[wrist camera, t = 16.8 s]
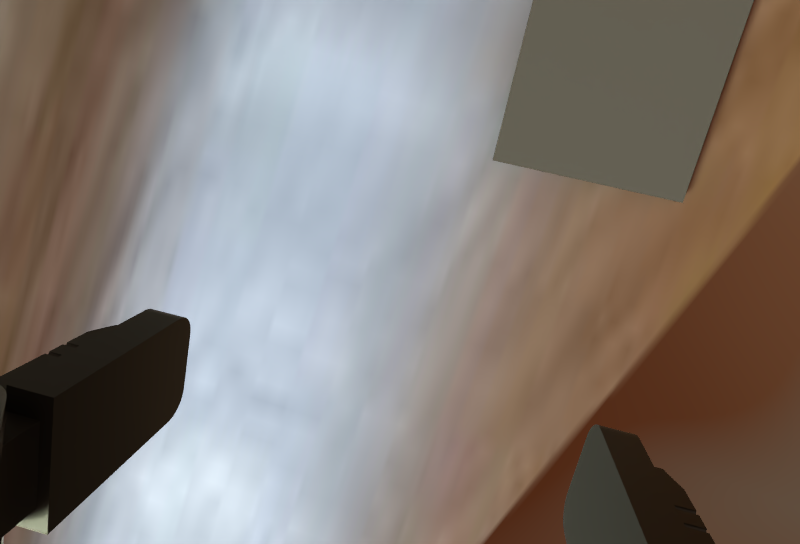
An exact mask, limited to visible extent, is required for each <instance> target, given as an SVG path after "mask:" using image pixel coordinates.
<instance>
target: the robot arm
mask: <svg viewBox="0 0 800 544" xmlns="http://www.w3.org/2000/svg"><path fill="white" fill-rule="evenodd" d="M189 339H190V323H189V320H188V319H187V318H184V317H180V316H176V315H173V314H169V313H165V312H161V311H157V310H153V309H147V310H145V311H143V312H141V313H139V314H137V315H136V316H134V317H132V318H130V319H128V320H126V321H124V322H123V323H121V324H119V325H114V326H110V327H105V328H101V329H97V330H93V331H89V332H86V333H84V334H82V335H81V336H79V337H77V338H75V339H73V340H71V341H69V342H67V344H66V345H61V346H59V347H57V348H55V349H53V350H51V351H49V354H43V355H41V356H40V357H38V358H36V359H34V360H32V361H30V362H28V363H26V364H24V365H22V366H20V367H18V368H16V369H14V370H12V371H10V372H8V373H6V374H4V375H2V376H0V544H3V536H4V535H5V534H7V533H8V532H9V531H10V530H11V529H12V528H14V527H15V526H19V527H23V528H26V529H30V530H33V531H36V532H40V533H43V534H46V535H48V534H49V533H50V532H51V531H52V530H53V529H54V528H55V527H56V526H57V525H58V524H59V523H60V522H62V521H63V520H64V519H65V518H66V517H67V516H68V515H69V514H70V513H71V512H72V511H73V510H74V509H75V508H76V507H78V506H79V505H80V504H81V503H82V502H83V501H84V500H85V499H86V498H87V497H88V496H89V495H90V494H91V493H93V492H94V491H95V490H96V489H97V488H98V487H99V486H100V485H101V484H102V483H103V482H104V481H105V480H106V479H108V478H109V477H110V476H111V475H112V474H113V473H114V472H115V471H116V470H117V469H118V468H119V467H120V466H121V465H123V464H124V463H125V462H126V461H127V460H128V459H129V458H130V457H131V456H132V455H133V454H134V453H135V452H136V451H137V450H139V449H140V448H141V447H142V446H143V445H144V444H145V443H146V442H147V441H148V440H149V439H150V438H151V437H152V436H154V435H155V434H156V433H157V432H158V431H159V430H160V429H161V428H162V427H163V426H164V425H165V424H166V423H167V422H168V421H169V420H170V419H171V418H172V417H173V415H174V414H175V412H176V410H177V408H178V406H179V404H180V401H181V398H182V395H183V390H184V382H185V373H186V365H187V356H188V348H189ZM563 525H564V532H565V537H566V541H567V544H715V543H714V541H713V539H712V537H711V536H710V534H709V533H706V530H707V529H706V527H705V525H704V523H703V522H702V520H701V518H700V516H699V515H696V509H695V508H694V506H693V504H692V503H691V501H690V499H689V497H688V496H687V494H686V492H685V491H684V489H683V488H682V487H681V486H680V485H679V484H678V483H677V482H676V481H674V480H673V479H672V478H671V477H670V476H669V475H668V474H667V473H666V472H665V471H664V470H663V469H661V468H657V467H654V466H653V464H652V462H651V460H650V458H649V456H648V455H647V452H646V450H645V448H644V446H643V445H642V443H641V441H640V439H639V437H638V436H637V435H635V434H631V433H627V432H623V431H619V430H615V429H611V428H608V427H604V426H600V425H594V426H593V427H592V428H591V429H590V431H589V433H588V435H587V438H586V441H585V444H584V447H583V450H582V453H581V456H580V458H579V462H578V464H577V467H576V470H575V473H574V476H573V479H572V482H571V485H570V488H569V490H568V493H567V498H566V501H565V507H564V516H563Z"/></svg>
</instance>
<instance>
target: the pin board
mask: <svg viewBox="0 0 800 544" xmlns="http://www.w3.org/2000/svg"><path fill="white" fill-rule="evenodd" d="M753 1H754V0H533V3H532V7H531V11H530V15H529V19H528V23H527V27H526V31H525V35H524V39H523V43H522V47H521V50H520V54H519V58H518V62H517V66H516V70H515V74H514V78H513V82H512V86H511V90H510V94H509V98H508V102H507V106H506V110H505V114H504V118H503V122H502V126H501V129H500V133H499V137H498V141H497V145H496V149H495V153H494V157H493V160H494V161H499V162H503V163H508V164H512V165H517V166H521V167H526V168H530V169H534V170H539V171H543V172H548V173H552V174H557V175H561V176H566V177H570V178H575V179H579V180H583V181H588V182H592V183H597V184H601V185H606V186H610V187H615V188H619V189H624V190H628V191H633V192H637V193H641V194H646V195H650V196H655V197H659V198H664V199H668V200H673V201H677V202H682V203H683V200H684V197H685V194H686V192H687V189H688V186H689V183H690V180H691V177H692V175H693V172H694V169H695V166H696V163H697V160H698V157H699V155H700V152H701V149H702V146H703V143H704V140H705V138H706V135H707V132H708V129H709V126H710V123H711V121H712V118H713V115H714V112H715V109H716V106H717V103H718V101H719V98H720V95H721V92H722V89H723V86H724V84H725V81H726V78H727V75H728V72H729V69H730V66H731V64H732V61H733V58H734V55H735V52H736V49H737V47H738V44H739V41H740V38H741V35H742V32H743V29H744V27H745V24H746V21H747V18H748V15H749V12H750V10H751V7H752V4H753Z"/></svg>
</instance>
